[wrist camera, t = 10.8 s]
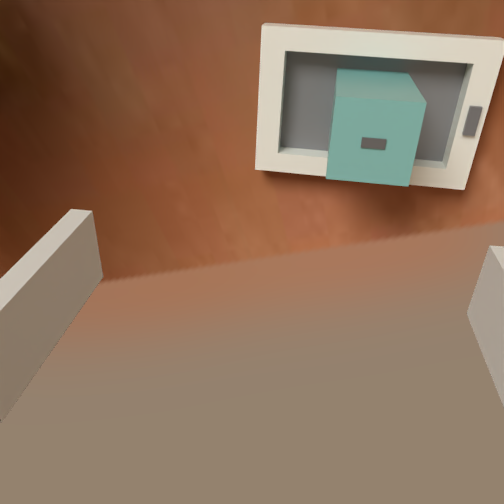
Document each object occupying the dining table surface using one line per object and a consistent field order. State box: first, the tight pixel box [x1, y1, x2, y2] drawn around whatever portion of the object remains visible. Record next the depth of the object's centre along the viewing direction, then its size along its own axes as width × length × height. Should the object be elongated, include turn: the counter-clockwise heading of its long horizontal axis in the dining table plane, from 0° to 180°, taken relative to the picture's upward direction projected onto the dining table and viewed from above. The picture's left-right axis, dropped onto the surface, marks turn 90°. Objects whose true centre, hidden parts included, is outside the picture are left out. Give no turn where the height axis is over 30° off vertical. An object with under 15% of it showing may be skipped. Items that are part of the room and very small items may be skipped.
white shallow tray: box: [255, 23, 504, 190], centre depth 35 cm, size 16×10×2 cm, turn 88°
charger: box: [326, 68, 427, 186], centre depth 32 cm, size 5×5×9 cm
